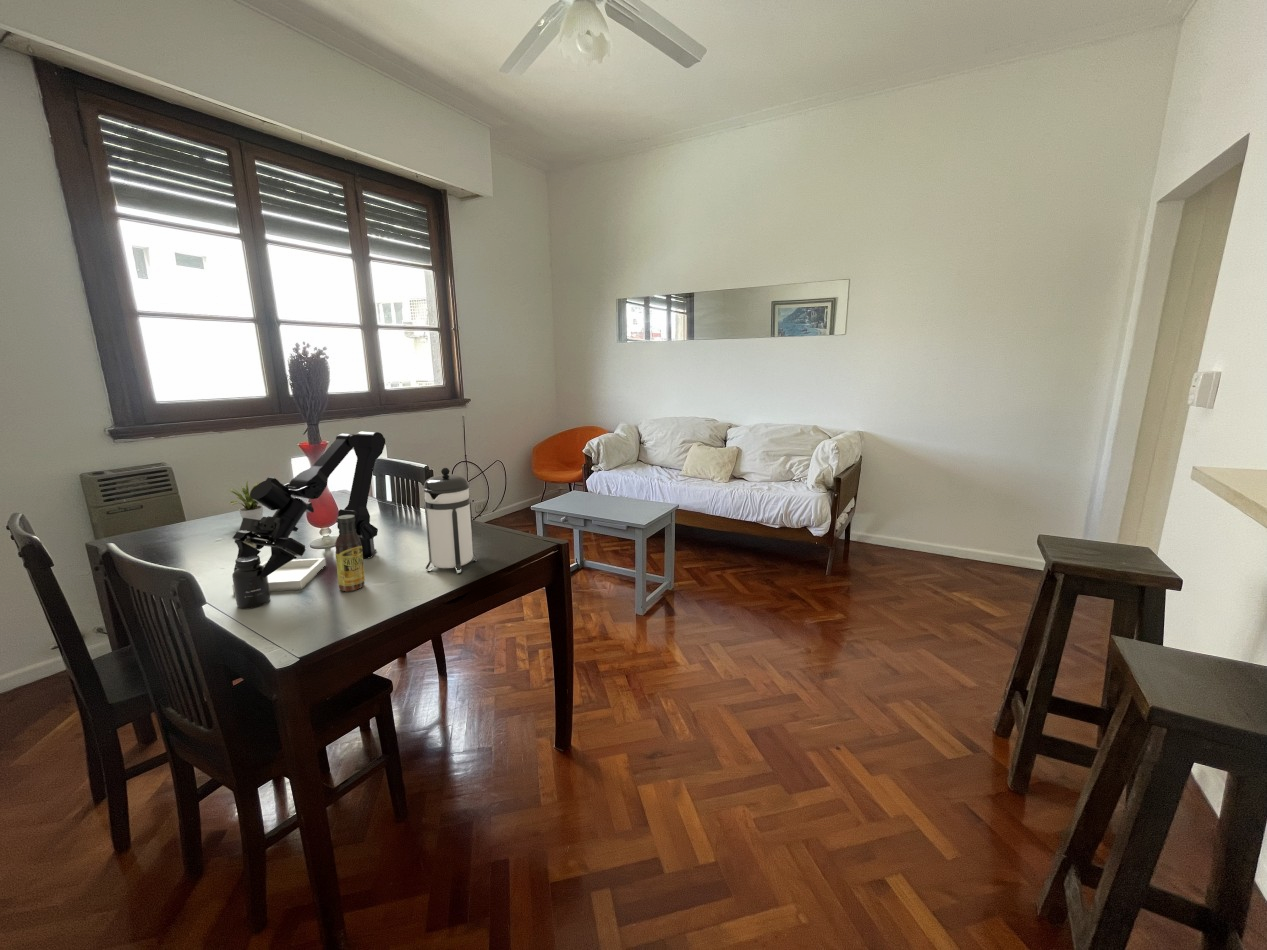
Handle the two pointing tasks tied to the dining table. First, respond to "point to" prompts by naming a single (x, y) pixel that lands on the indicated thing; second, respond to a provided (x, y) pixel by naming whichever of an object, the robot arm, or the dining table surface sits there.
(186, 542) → the dining table surface
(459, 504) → the coffee press
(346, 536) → the sauce bottle
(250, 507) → the house plant
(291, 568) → the tray
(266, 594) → the supplement bottle
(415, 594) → the dining table surface
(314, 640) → the dining table surface
